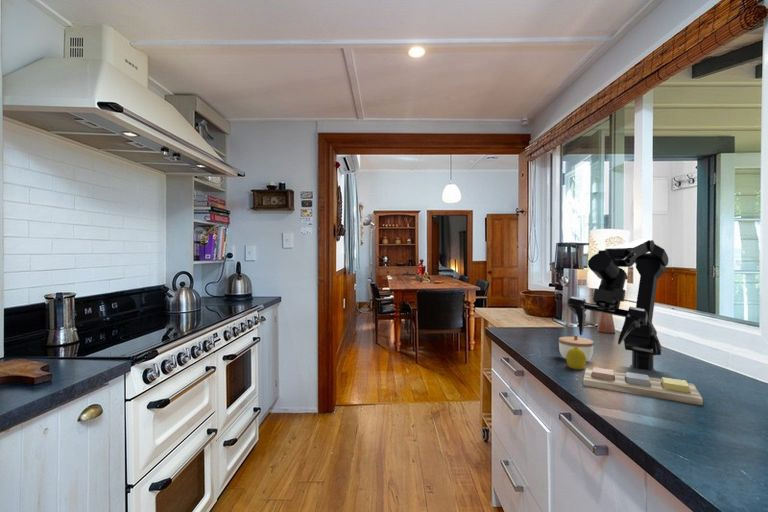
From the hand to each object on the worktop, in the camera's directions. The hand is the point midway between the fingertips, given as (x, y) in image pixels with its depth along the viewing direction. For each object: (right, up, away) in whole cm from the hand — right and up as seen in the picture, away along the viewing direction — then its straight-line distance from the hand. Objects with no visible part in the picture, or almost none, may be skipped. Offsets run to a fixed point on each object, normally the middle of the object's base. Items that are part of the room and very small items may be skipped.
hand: (599, 339), depth 100 cm
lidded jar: (+8, -14, +27) cm, 32 cm away
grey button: (+10, -13, -1) cm, 16 cm away
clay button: (+3, -13, +3) cm, 14 cm away
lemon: (+2, -14, +16) cm, 22 cm away
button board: (+10, -14, -1) cm, 17 cm away
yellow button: (+17, -13, -5) cm, 22 cm away
